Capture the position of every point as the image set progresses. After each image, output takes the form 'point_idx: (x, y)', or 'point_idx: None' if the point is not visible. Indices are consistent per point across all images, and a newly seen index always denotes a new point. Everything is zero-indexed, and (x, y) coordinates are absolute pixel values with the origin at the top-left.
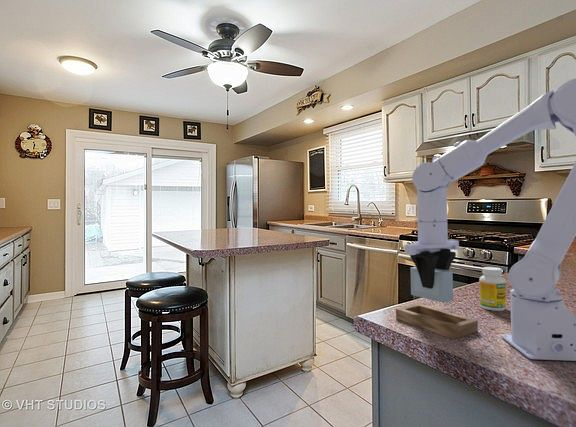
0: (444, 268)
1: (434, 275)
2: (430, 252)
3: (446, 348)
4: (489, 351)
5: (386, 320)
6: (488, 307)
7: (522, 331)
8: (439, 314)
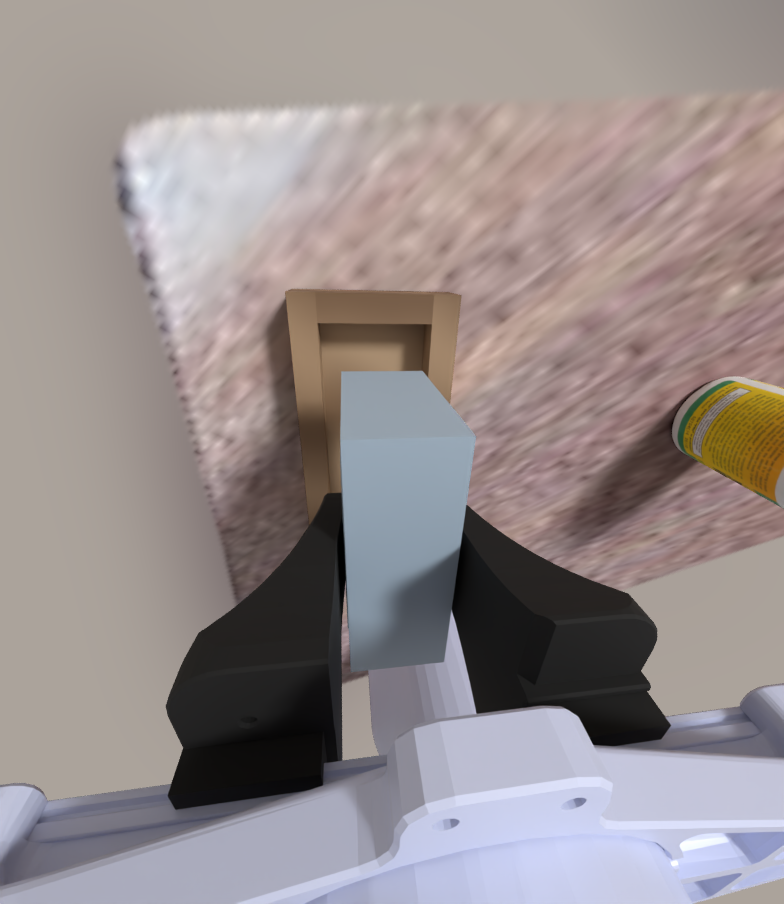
0: (459, 627)
1: (347, 607)
2: (539, 647)
3: (245, 553)
4: None
5: (231, 281)
6: (678, 427)
7: None
8: None
